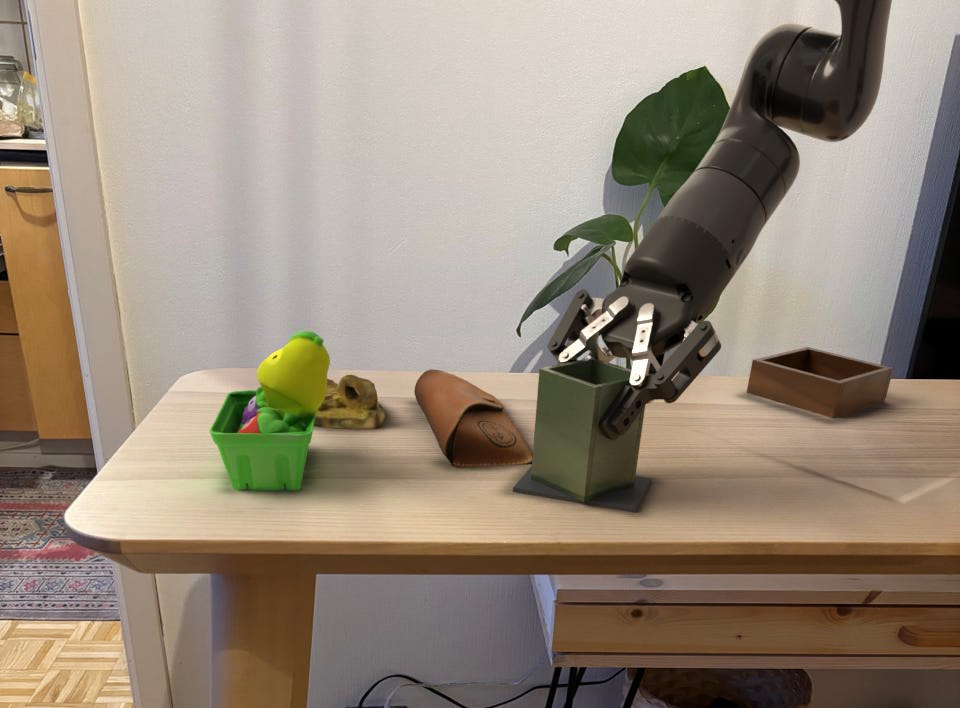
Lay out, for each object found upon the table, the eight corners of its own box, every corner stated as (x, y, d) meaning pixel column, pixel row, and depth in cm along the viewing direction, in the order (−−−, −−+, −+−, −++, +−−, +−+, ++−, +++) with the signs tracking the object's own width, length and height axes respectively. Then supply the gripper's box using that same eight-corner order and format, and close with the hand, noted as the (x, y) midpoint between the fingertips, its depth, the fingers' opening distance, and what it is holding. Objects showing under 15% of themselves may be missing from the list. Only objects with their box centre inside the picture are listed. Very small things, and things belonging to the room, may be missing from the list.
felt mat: (651, 484, 80) (652, 477, 79) (635, 515, 74) (636, 508, 74) (536, 466, 82) (536, 459, 82) (512, 494, 76) (512, 487, 76)
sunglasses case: (542, 460, 82) (507, 394, 78) (472, 502, 82) (434, 439, 79) (495, 398, 97) (464, 341, 93) (436, 434, 98) (403, 378, 94)
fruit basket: (233, 447, 83) (221, 313, 77) (336, 448, 84) (332, 316, 78) (214, 497, 73) (198, 348, 67) (330, 498, 74) (325, 351, 68)
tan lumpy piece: (238, 414, 94) (347, 449, 86) (229, 367, 91) (340, 399, 83) (307, 385, 100) (415, 415, 92) (300, 340, 97) (411, 367, 89)
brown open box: (799, 384, 109) (807, 346, 107) (883, 407, 102) (893, 368, 100) (745, 398, 103) (752, 359, 100) (831, 424, 96) (840, 383, 94)
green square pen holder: (581, 463, 81) (592, 357, 77) (634, 485, 78) (649, 375, 73) (530, 478, 78) (539, 368, 73) (583, 502, 74) (596, 387, 70)
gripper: (607, 201, 77) (489, 370, 76) (758, 226, 67) (625, 419, 67) (642, 266, 82) (532, 424, 81) (785, 297, 73) (663, 475, 72)
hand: (574, 421), depth 74 cm, fingers closed on green square pen holder, 6 cm apart
